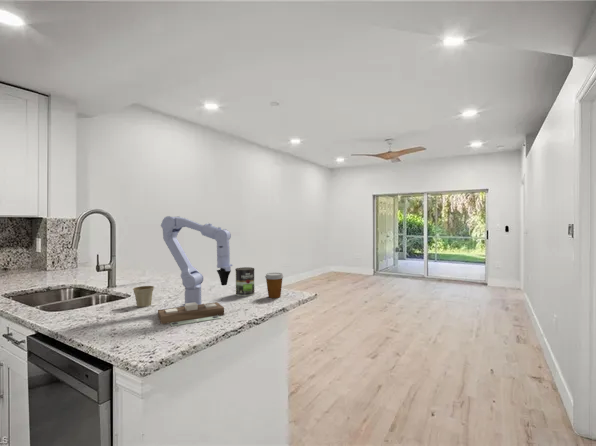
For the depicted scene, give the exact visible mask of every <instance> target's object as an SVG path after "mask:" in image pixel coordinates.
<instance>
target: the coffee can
mask: <svg viewBox="0 0 596 446" xmlns="http://www.w3.org/2000/svg"><path fill="white" fill-rule="evenodd" d="M234 271H235V296H238V297H250V296H254V295H255V267H249V266H248V267H247V266H246V267H245V266H244V267H237V268H235V270H234Z"/></svg>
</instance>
